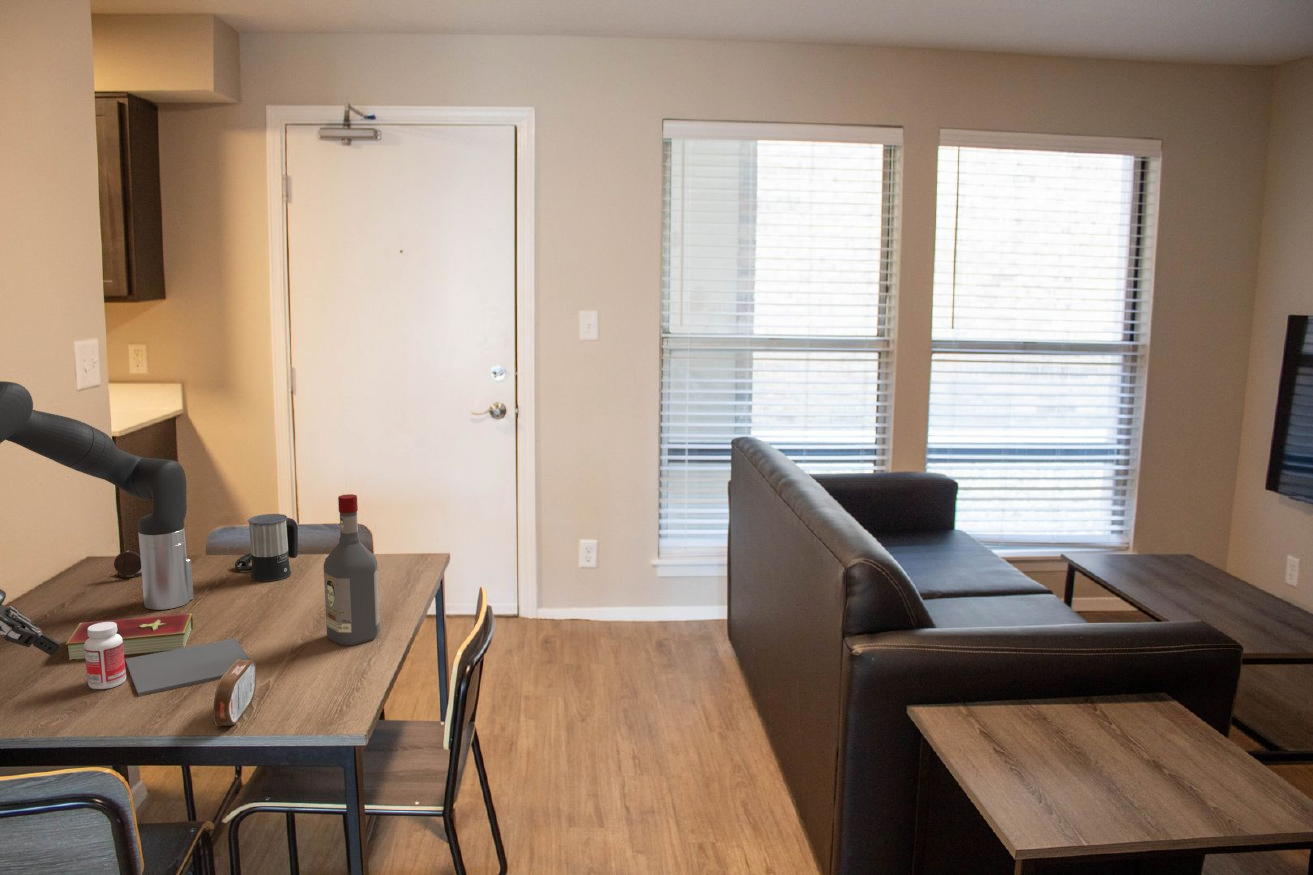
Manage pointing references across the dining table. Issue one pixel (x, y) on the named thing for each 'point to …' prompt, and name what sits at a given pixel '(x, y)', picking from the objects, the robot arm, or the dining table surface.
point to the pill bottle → (104, 656)
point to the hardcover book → (139, 634)
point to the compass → (128, 564)
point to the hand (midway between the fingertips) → (56, 649)
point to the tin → (234, 692)
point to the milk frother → (270, 547)
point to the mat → (183, 666)
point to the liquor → (351, 583)
